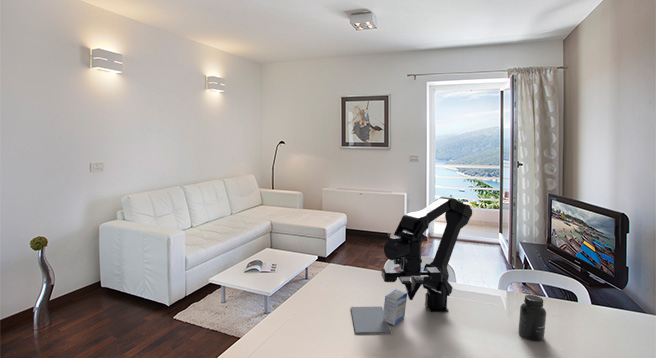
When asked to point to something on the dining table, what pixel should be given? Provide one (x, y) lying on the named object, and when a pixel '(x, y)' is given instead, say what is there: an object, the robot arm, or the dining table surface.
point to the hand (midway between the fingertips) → (410, 299)
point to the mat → (369, 320)
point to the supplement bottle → (532, 318)
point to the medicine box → (394, 306)
